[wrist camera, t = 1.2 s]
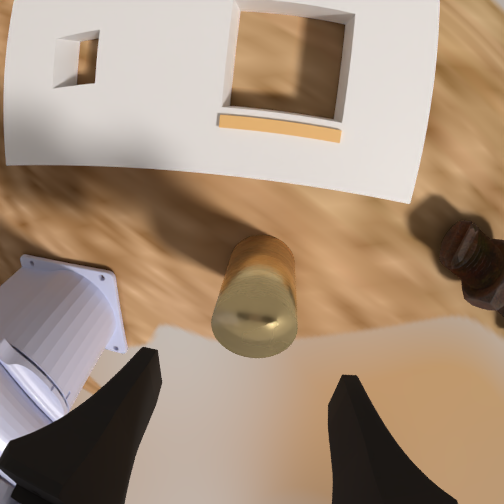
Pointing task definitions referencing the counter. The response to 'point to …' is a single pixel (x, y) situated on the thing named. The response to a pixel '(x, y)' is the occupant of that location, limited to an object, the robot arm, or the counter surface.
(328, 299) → the counter surface
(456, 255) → the bolt
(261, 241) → the brass cylinder
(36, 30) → the fitting plate
